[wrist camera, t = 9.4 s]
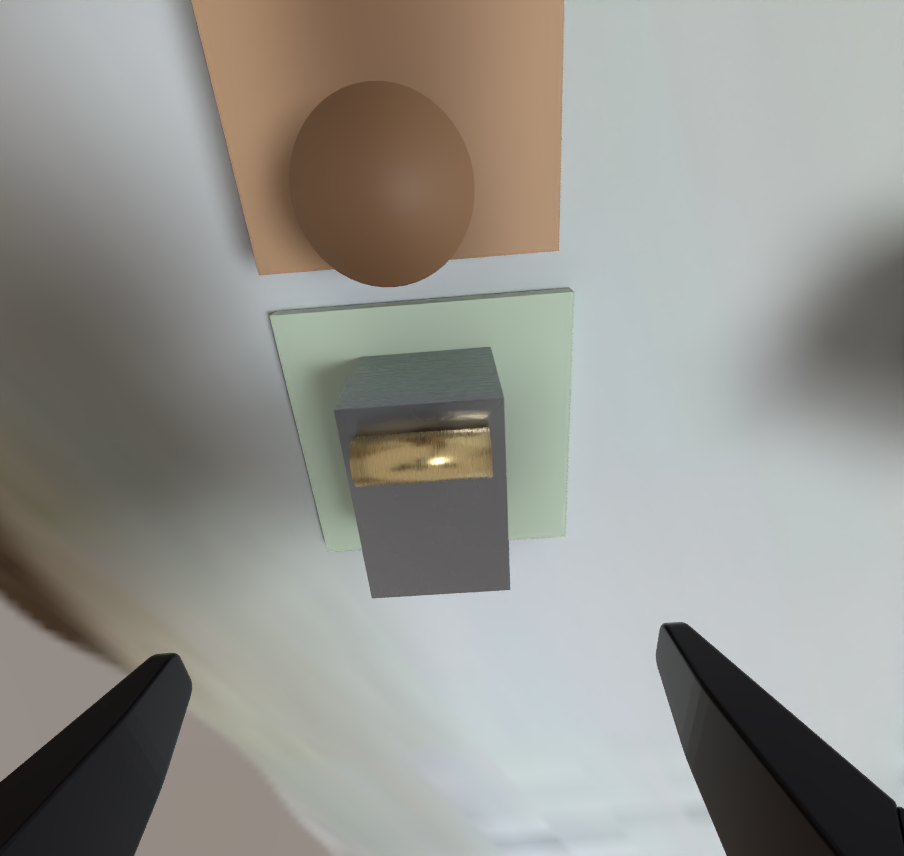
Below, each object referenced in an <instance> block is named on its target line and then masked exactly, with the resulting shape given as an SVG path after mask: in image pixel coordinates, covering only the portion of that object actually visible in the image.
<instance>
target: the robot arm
mask: <svg viewBox="0 0 904 856" xmlns="http://www.w3.org/2000/svg"><path fill="white" fill-rule="evenodd" d="M656 662H657V666H658V670H659V673H660V676H661V680H662V683H663V686H664V689H665V693H666V696H667V699H668V702H669V706H670V709H671V712H672V715H673V718H674V722H675V725H676V728H677V731H678V735H679V738H680V741H681V744H682V747H683V750H684V753H685V756H686V759H687V761H688V764H689V766H690V769H691V772H692V774H693V776H694V779H695V781H696V784H697V786H698V788H699V791H700V793H701V795H702V798H703V800H704V803H705V805H706V807H707V810H708V812H709V815H710V817H711V819H712V822H713V824H714V826H715V829H716V831H717V834H718V836H719V838H720V841H721V843H722V846H723V848H724V850H725V853H726V855H727V856H904V808H902V807H897V805H896V803H895V801H894V800H893V799H892V798H890V797H889V796H888V795H887V794H886V793H885V792H883V791H882V790H881V789H880V788H879V787H877V786H876V785H875V784H874V783H873V782H872V781H870V780H869V779H868V778H867V777H866V776H865V775H863V774H862V773H861V772H860V771H859V770H858V769H856V768H855V767H854V766H853V765H852V764H851V763H849V762H848V761H847V760H846V759H845V758H844V757H842V756H841V755H840V754H839V753H838V752H837V751H835V750H834V749H833V748H832V747H831V746H830V745H828V744H827V743H826V742H825V741H824V740H822V739H821V738H820V737H819V736H818V735H817V734H815V733H814V732H813V731H812V730H811V729H810V728H808V727H807V726H806V725H805V724H804V723H803V722H801V721H800V720H799V719H798V718H797V717H796V716H794V715H793V714H792V713H791V712H790V711H789V710H787V709H786V708H785V707H784V706H783V705H782V704H780V703H779V702H778V701H777V700H776V699H775V698H773V697H772V696H771V695H770V694H769V693H767V692H766V691H765V690H764V689H763V688H762V687H760V686H759V685H758V684H757V683H756V682H755V681H753V680H752V679H751V678H750V677H749V676H748V675H746V674H745V673H744V672H743V671H742V670H741V669H739V668H738V667H737V666H736V665H735V664H734V663H732V662H731V661H730V660H729V659H728V658H727V657H725V656H724V655H723V654H722V653H721V652H720V651H718V650H717V649H716V648H715V647H714V646H712V645H711V644H710V643H709V642H708V641H707V640H705V639H704V638H703V637H702V636H701V635H700V634H698V633H697V632H696V631H695V630H694V629H693V628H691V627H690V626H689V625H688V624H686V623H683V622H674V623H664V624H662V625H661V627H660V631H659V637H658V643H657V650H656ZM191 692H192V682H191V679H190V676H189V674H188V672H187V670H186V668H185V666H184V664H183V662H182V660H181V658H180V656H179V655H178V654H176V653H164V654H156V655H153V656H151V657H150V658H148V659H147V660H146V661H145V662H144V663H142V664H141V665H140V666H139V667H138V668H136V669H135V670H134V671H133V672H132V673H130V674H129V675H128V676H127V677H126V678H124V679H123V680H122V681H121V682H120V683H119V684H117V685H116V686H115V687H114V688H112V689H111V690H110V691H109V692H108V693H107V694H105V695H104V696H103V697H102V698H101V699H100V700H98V701H97V702H96V703H95V704H93V705H92V706H91V707H90V708H89V709H87V710H86V711H85V712H84V713H83V714H81V715H80V716H79V717H78V718H77V719H75V720H74V721H73V722H72V723H71V724H69V725H68V726H67V727H66V728H65V729H63V730H62V731H61V732H60V733H59V734H58V735H56V736H55V737H54V738H53V739H52V740H50V741H49V742H48V743H47V744H46V745H44V746H43V747H42V748H41V749H40V750H38V751H37V752H36V753H35V754H33V756H31V757H30V758H29V759H28V760H26V761H25V762H24V763H23V764H22V765H20V766H19V767H18V768H17V769H16V770H14V771H13V772H12V773H11V774H10V775H8V776H7V777H6V778H5V779H4V780H2V781H1V782H0V856H134V855H135V852H136V850H137V847H138V845H139V842H140V840H141V837H142V835H143V833H144V830H145V828H146V825H147V823H148V820H149V818H150V815H151V813H152V811H153V808H154V805H155V803H156V801H157V798H158V796H159V793H160V790H161V788H162V785H163V782H164V780H165V776H166V774H167V770H168V768H169V765H170V761H171V758H172V755H173V752H174V748H175V745H176V742H177V739H178V735H179V732H180V729H181V725H182V722H183V719H184V716H185V713H186V709H187V706H188V703H189V700H190V696H191Z"/></svg>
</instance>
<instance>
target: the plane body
mask: <svg viewBox="0 0 904 856" xmlns="http://www.w3.org/2000/svg"><path fill="white" fill-rule="evenodd" d="M191 2H192V6H193V10H194V14H195V18H196V22H197V26H198V30H199V34H200V38H201V42H202V46H203V50H204V55H205V59H206V63H207V67H208V71H209V75H210V79H211V83H212V87H213V91H214V95H215V99H216V103H217V107H218V111H219V115H220V119H221V123H222V128H223V132H224V136H225V140H226V144H227V148H228V152H229V156H230V160H231V164H232V168H233V172H234V176H235V180H236V184H237V188H238V192H239V196H240V200H241V205H242V209H243V213H244V217H245V221H246V225H247V229H248V233H249V237H250V241H251V245H252V249H253V253H254V257H255V261H256V265H257V269H258V273H259V275H268V274H280V273H292V272H305V271H317V270H329V269H335V270H337V271H338V272H339V273H341V274H343V275H345V276H347V277H348V278H350V279H353V280H355V281H358V282H360V283H363V284H367V285H371V286H378V287H398V286H405V285H408V284H412V283H415V282H418V281H420V280H422V279H424V278H427V277H428V276H430V275H431V274H433V273H435V272H436V271H437V270H439V269H440V268H441V267H442V266H443V265H445V264H446V262H447V261H448V260H451V259H463V258H476V257H488V256H500V255H512V254H525V253H537V252H549V251H559V225H560V176H561V127H562V78H563V29H564V0H191Z"/></svg>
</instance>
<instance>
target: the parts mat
mask: <svg viewBox="0 0 904 856" xmlns="http://www.w3.org/2000/svg"><path fill="white" fill-rule="evenodd" d="M573 309H574V291H573V290H571V289H570V288H562V289H549V290H536V291H524V292H511V293H499V294H486V295H474V296H461V297H448V298H436V299H423V300H411V301H398V302H386V303H373V304H360V305H348V306H335V307H323V308H310V309H298V310H285V311H276V312H274V313H273V314H271V315H270V320H271V324H272V328H273V332H274V336H275V340H276V345H277V349H278V353H279V357H280V361H281V365H282V369H283V373H284V377H285V381H286V385H287V389H288V393H289V397H290V401H291V405H292V410H293V414H294V418H295V422H296V426H297V430H298V434H299V438H300V442H301V446H302V450H303V454H304V458H305V462H306V466H307V470H308V474H309V479H310V483H311V487H312V491H313V495H314V499H315V503H316V507H317V511H318V515H319V519H320V523H321V527H322V531H323V535H324V539H325V544H326V548H327V552H333V551H349V550H362V547H361V542H360V537H359V532H358V527H357V522H356V517H355V512H354V508H353V503H352V498H351V493H350V488H349V483H348V478H347V473H346V468H345V464H344V459H343V454H342V449H341V444H340V439H339V434H338V429H337V424H336V420H335V415H334V408H335V407H336V405H337V403H338V401H339V399H340V397H341V395H342V393H343V391H344V389H345V387H346V385H347V383H348V381H349V379H350V378H351V376H352V374H353V372H354V370H355V368H356V366H357V364H358V362H359V360H360V358H361V357H364V356H377V355H390V354H403V353H416V352H429V351H442V350H456V349H469V348H482V347H491V350H492V353H493V357H494V361H495V365H496V369H497V372H498V376H499V380H500V384H501V388H502V392H503V395H504V409H505V441H506V473H507V506H508V538H509V540H519V539H535V538H550V537H566V510H567V481H568V453H569V424H570V395H571V367H572V338H573Z"/></svg>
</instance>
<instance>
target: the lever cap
mask: <svg viewBox="0 0 904 856" xmlns="http://www.w3.org/2000/svg"><path fill="white" fill-rule="evenodd" d="M334 415H335V420H336V424H337V429H338V434H339V439H340V444H341V449H342V454H343V459H344V464H345V468H346V473H347V478H348V483H349V488H350V493H351V498H352V503H353V508H354V512H355V517H356V522H357V527H358V532H359V537H360V542H361V547H362V552H363V556H364V561H365V566H366V571H367V576H368V581H369V586H370V591H371V596H372V598H385V597H401V596H417V595H434V594H450V593H466V592H483V591H499V590H510V570H509V538H508V506H507V473H506V441H505V409H504V395H503V392H502V388H501V384H500V380H499V376H498V372H497V369H496V365H495V361H494V357H493V353H492V350H491V347H482V348H469V349H456V350H442V351H429V352H416V353H403V354H390V355H377V356H364V357H361V358H360V360H359V362H358V364H357V366H356V368H355V370H354V372H353V374H352V376H351V378H350V379H349V381H348V383H347V385H346V387H345V389H344V391H343V393H342V395H341V397H340V399H339V401H338V403H337V405H336V407H335V408H334Z"/></svg>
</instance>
